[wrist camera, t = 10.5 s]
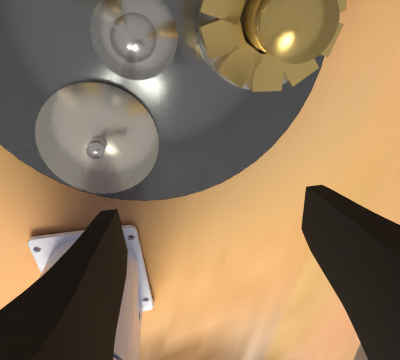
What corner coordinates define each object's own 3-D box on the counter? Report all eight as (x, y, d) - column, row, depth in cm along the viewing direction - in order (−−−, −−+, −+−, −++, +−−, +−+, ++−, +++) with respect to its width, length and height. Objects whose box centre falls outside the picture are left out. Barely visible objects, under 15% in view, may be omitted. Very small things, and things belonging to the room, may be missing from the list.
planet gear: (319, 82, 18) (366, 108, 14) (198, 87, 18) (209, 114, 14) (345, -67, 15) (418, -94, 11) (196, -68, 14) (210, -97, 10)
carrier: (305, 173, 23) (341, 217, 19) (16, 207, 22) (-23, 262, 18) (355, -280, 13) (467, -443, 8) (-194, -256, 12) (-433, -426, 7)
